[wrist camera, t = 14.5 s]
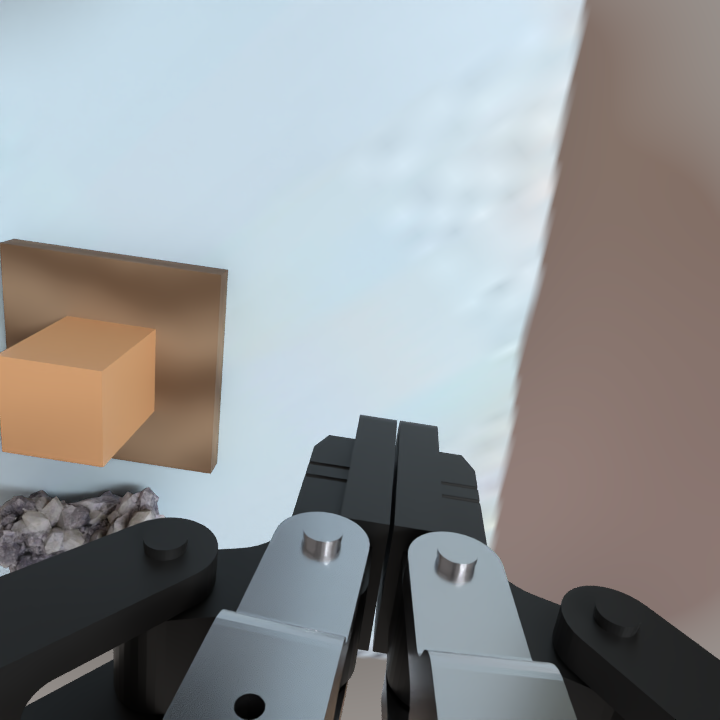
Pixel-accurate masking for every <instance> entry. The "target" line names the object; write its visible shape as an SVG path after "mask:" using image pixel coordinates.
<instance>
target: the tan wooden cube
mask: <svg viewBox="0 0 720 720" xmlns="http://www.w3.org/2000/svg"><path fill="white" fill-rule="evenodd" d="M155 346H156V329H152V328H146V327H139V326H132V325H125V324H118V323H112V322H105V321H98V320H91V319H84V318H78V317H71V316H66V317H64V318H63V319H61V320H59V321H57V322H55V323H53V324H52V325H50V326H48V327H46V328H44V329H43V330H41V331H39V332H37V333H35V334H33V335H32V336H30V337H28V338H26V339H24V340H23V341H21V342H19V343H17V344H15V345H13V346H12V347H10V348H8V349H6V350H4V351H3V352H1V353H0V425H1V439H2V452H8V453H14V454H21V455H27V456H34V457H40V458H47V459H53V460H60V461H66V462H72V463H79V464H85V465H92V466H98V467H104V466H105V465H106V464H107V462H108V461H109V460H110V459H111V458H112V457H113V456H114V455H115V454H116V453H117V452H118V450H119V449H120V448H121V447H122V446H123V445H124V444H125V443H126V442H127V441H128V440H129V438H130V437H131V436H132V435H133V434H134V433H135V432H136V431H137V430H138V429H139V427H140V426H141V425H142V424H143V423H144V422H145V421H146V420H147V419H148V418H149V417H150V415H151V414H152V413H153V412H154V403H155Z"/></svg>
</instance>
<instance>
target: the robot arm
mask: <svg viewBox="0 0 720 720" xmlns="http://www.w3.org/2000/svg"><path fill="white" fill-rule="evenodd" d="M396 428H397V420H391V419H385V418H378V417H371V416H365V415H360V418H359V423H358V428H357V434H356V439H351V438H345V437H338V436H332V435H329V436H328V437H326V438H325V439H323V440H322V441H321V442H319V443H318V444H317V445H315V446H314V449H313V452H312V455H311V458H310V462H309V465H308V468H307V471H306V475H305V477H304V480H303V483H302V487H301V490H300V493H299V496H298V499H297V502H296V505H295V508H294V512H293V515H292V517H289V518H287V519H286V520H284V521H283V522H282V523H281V524H280V525H279V526H278V527H277V529H276V530H275V533H274V535H273V537H272V539H271V541H269V542H267V543H264V544H261V545H258V546H253V547H248V548H236V549H220V550H218V543H217V539H216V537H215V536H214V534H213V533H212V532H211V531H210V530H209V529H208V528H206V527H205V526H204V525H202V524H199V523H197V522H195V521H191V520H188V519H182V518H157V519H152V520H147V521H144V522H141V523H138V524H135V525H133V526H130V527H128V528H125V529H122V530H120V531H117V532H115V533H112V534H109V535H107V536H104V537H102V538H99V539H97V540H94V541H91V542H89V543H86V544H84V545H81V546H78V547H76V548H73V549H71V550H68V551H66V552H63V553H60V554H58V555H55V556H53V557H50V558H47V559H45V560H42V561H40V562H37V563H35V564H32V565H29V566H27V567H24V568H22V569H19V570H16V571H14V572H11V573H9V574H6V575H4V576H1V577H0V720H341V715H342V710H343V706H344V701H345V697H346V691H347V685H348V680H349V679H350V677H351V676H352V674H353V672H354V668H355V663H356V657H357V651H358V649H360V650H366V651H368V649H369V644H370V638H371V632H372V626H373V620H374V614H375V608H376V617H375V629H374V640H373V651H374V652H380V653H386V654H387V668H386V674H385V679H384V684H383V690H382V697H381V712H382V720H720V660H719V659H718V658H716V657H715V656H713V655H712V654H711V653H709V652H708V651H707V650H705V649H704V648H702V647H701V646H700V645H699V644H697V643H696V642H695V641H693V640H692V639H690V638H689V637H688V636H686V635H685V634H684V633H682V632H681V631H680V630H678V629H677V628H675V627H674V626H673V625H671V624H670V623H669V622H667V621H666V620H665V619H663V618H662V617H661V616H659V615H658V614H656V613H655V612H654V611H652V610H651V609H650V608H648V607H647V606H645V605H644V604H643V603H641V602H640V601H638V600H636V599H634V598H633V597H631V596H629V595H626V594H624V593H622V592H619V591H616V590H613V589H609V588H605V587H600V586H582V587H577V588H574V589H572V590H570V591H569V592H568V593H567V594H566V595H565V596H564V598H563V600H562V603H561V605H558V604H556V603H553V602H551V601H548V600H545V599H543V598H540V597H537V596H535V595H533V594H530V593H528V592H526V591H523V590H522V589H520V588H518V587H516V586H515V585H513V584H512V583H510V582H509V581H508V580H507V576H506V573H505V570H504V567H503V564H502V562H501V560H500V559H499V557H498V556H497V555H496V554H495V552H494V551H493V550H491V549H490V548H489V547H488V546H487V543H486V537H485V531H484V525H483V518H482V512H481V506H480V503H479V494H478V490H477V482H476V475H475V471H474V469H473V468H472V467H471V466H470V465H469V464H468V462H467V461H466V460H465V459H464V458H463V457H462V455H456V454H449V453H443V452H439V442H438V428H437V426H431V425H425V424H418V423H411V422H405V421H400V423H399V428H398V433H397V439H396ZM395 443H396V445H395ZM376 602H377V605H376ZM113 648H114V659H113V660H111V661H110V662H108V663H106V664H104V665H102V666H101V667H98V668H96V669H95V670H93V671H91V672H89V673H87V674H85V675H83V676H81V677H80V678H78V679H76V680H74V681H72V682H70V683H68V684H66V685H65V686H63V687H61V688H59V689H57V690H55V691H54V692H51V693H50V694H48V695H46V696H44V697H42V698H40V699H38V700H37V701H35V702H33V703H31V704H29V705H28V706H26V704H27V702H28V701H29V700H30V699H31V697H32V696H33V695H34V694H35V693H36V692H37V691H38V690H39V689H40V688H41V687H43V686H44V685H45V684H47V683H48V682H50V681H52V680H54V679H56V678H57V677H59V676H61V675H63V674H65V673H67V672H69V671H71V670H73V669H75V668H77V667H78V666H80V665H82V664H84V663H86V662H88V661H90V660H92V659H94V658H96V657H98V656H100V655H102V654H104V653H105V652H107V651H109V650H111V649H113Z"/></svg>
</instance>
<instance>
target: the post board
mask: <svg viewBox="0 0 720 720" xmlns="http://www.w3.org/2000/svg"><path fill="white" fill-rule="evenodd" d="M0 254H1V269H2V285H3V300H4V315H5V330H6V346H7V349H8V348H10V347H12V346H13V345H15V344H17V343H19V342H21V341H23V340H24V339H26V338H28V337H30V336H32V335H33V334H35V333H37V332H39V331H41V330H43V329H44V328H46V327H48V326H50V325H52V324H53V323H55V322H57V321H59V320H61V319H63V318H64V317H66V316H71V317H78V318H84V319H91V320H98V321H105V322H112V323H118V324H125V325H132V326H139V327H146V328H152V329H156V346H155V403H154V412H153V413H152V414H151V415H150V417H149V418H148V419H147V420H146V421H145V422H144V423H143V424H142V425H141V426H140V427H139V429H138V430H137V431H136V432H135V433H134V434H133V435H132V436H131V437H130V438H129V440H128V441H127V442H126V443H125V444H124V445H123V446H122V447H121V448H120V449H119V450H118V452H117V453H116V454H115V455H114V456H113V457H112V458H113V459H120V460H126V461H133V462H139V463H146V464H152V465H158V466H165V467H171V468H178V469H184V470H191V471H197V472H203V473H210V474H211V472H212V470H213V469H214V467H215V465H216V464H217V453H218V435H219V418H220V401H221V383H222V366H223V348H224V331H225V313H226V296H227V278H228V270H225V269H218V268H211V267H205V266H198V265H191V264H184V263H177V262H170V261H163V260H156V259H149V258H142V257H135V256H128V255H122V254H115V253H108V252H101V251H94V250H87V249H80V248H73V247H66V246H59V245H52V244H45V243H39V242H32V241H25V240H18V239H12V240H8V241H5V242H1V243H0Z"/></svg>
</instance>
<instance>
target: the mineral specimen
mask: <svg viewBox="0 0 720 720" xmlns="http://www.w3.org/2000/svg"><path fill="white" fill-rule="evenodd" d="M158 499H159V497H158V496H157V495H156V494H155V493H154V492H153V491H152V490H151V489H150V488H149V487H148V488H145V489H144V490H143V491H141V492H138V493H136V494H132V493H130V492H128V491H127V493H126V494H125V495H124V496H123V498H122V497H120V496H117V495H114V494H112V493H111V492H110V491H107V492H105V493H103V494H102V496H101V497H95V498H88V499H84V500H81V501H79V502H74V503H65V500H62V501H60V500H59V499H58V498H57V496H56V497H55V498H51V497H48V495H47V494H46V493H45V492H44V491H43V490H41V491H39V492H36V493H34V494H31V495H30V497H29V498H27V497H23V496H14V497H13V498H12V499H11V500H9V501H7V502H6V503H5V504H4V505H3V506H2V507H1V508H0V565H1V566H3V567H4V568H7V567H9V569H10V573H11V572H14V571H16V570H19V569H22V568H24V567H27V566H29V565H32V564H35V563H37V562H40V561H42V560H45V559H47V558H50V557H53V556H55V555H58V554H60V553H63V552H66V551H68V550H71V549H73V548H76V547H78V546H81V545H84V544H86V543H89V542H91V541H94V540H97V539H99V538H102V537H104V536H107V535H109V534H112V533H115V532H117V531H120V530H122V529H125V528H128V527H130V526H133V525H135V524H138V523H141V522H144V521H147V520H152V519H157V518H166V517H165V516H164V515H159V511H158V506H157V502H158Z"/></svg>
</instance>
